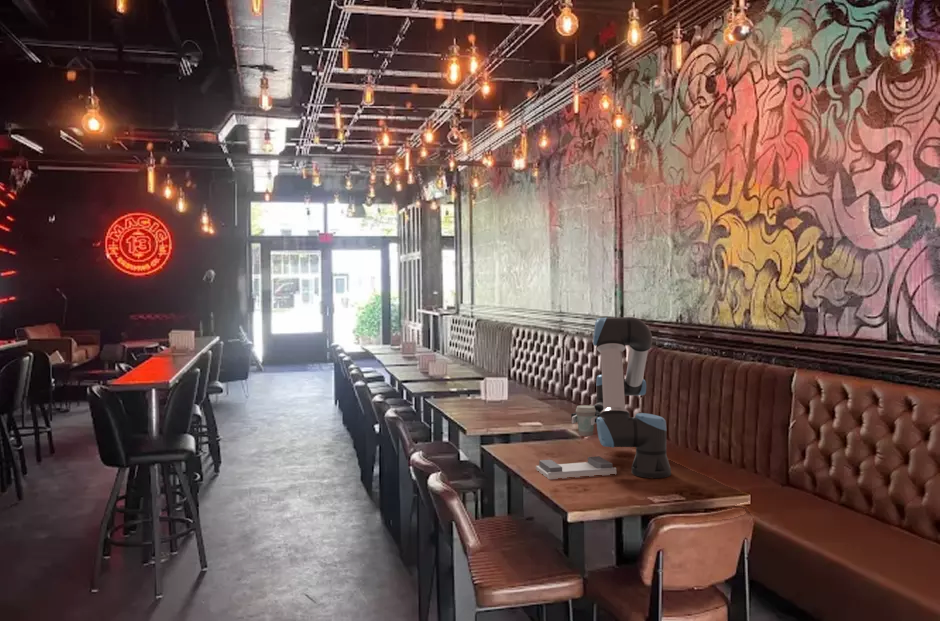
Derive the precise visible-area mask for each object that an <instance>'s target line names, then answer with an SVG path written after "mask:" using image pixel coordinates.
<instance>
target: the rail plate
mask: <svg viewBox="0 0 940 621" xmlns="http://www.w3.org/2000/svg"><path fill="white" fill-rule="evenodd" d="M535 470H536V471H537V472H538V471H539V472H538V473H539V474H541V475H542V474H543V475H542V476H544V477H545V478H546V477H547V478H546V479H548V480H559V479H558V478H562V479H568V478H567V477H575V478H581V477H580V476H589V477H595V476H594V475H602V476H611V475H610V474H615V475H617V467H613V463H612V462H610V461H609V460H607V459H605V458H603V457H601V456H599V455H598V456H597V455H596V456H587V462H571V463H557V462H555V460H552V459H541V460H540V459H539V462H538V465H535Z"/></svg>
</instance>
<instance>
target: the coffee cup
mask: <svg viewBox="0 0 940 621" xmlns="http://www.w3.org/2000/svg"><path fill="white" fill-rule="evenodd" d="M595 412H596V409H595V407H594V406H593V405H590V404H581V405H580V404H579V405H577V406H576V409H575V413H577V422H576V423H577V429H578V436H581V437H592V436H593V435H594V428H595V427H594V426H595V424H594V425H591V418H593V417H595Z"/></svg>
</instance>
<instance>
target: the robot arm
mask: <svg viewBox="0 0 940 621" xmlns="http://www.w3.org/2000/svg"><path fill="white" fill-rule="evenodd" d="M652 344H653V335H652V332H651V330H650V328H649V327H648V325H647V324H646V323H645V322H644V321H643V320H642V319H639V318H638V317H637V318H636V317H633V316H632V317H630V316H628V317H623V316H622V317H619V316H618V317H617V316H615V317H613V316H612V317H611V316H610V317H608V316H606V317H598V318H596V319H595V322H594V330H593V337H592V345H593V346H595V347H596V351H597V352H599V353H600V363H601V374H598V375H597V376H596V384H595V388H596V390H595V391H596V393H595V394H596V401H595V402H596V403H595V404H593V405H592V406H594V407H595V409H596V412H595V417H593V418H591V425H594V426H595V425H596V429H597V431H596V432H597V437H598V440H599V443H600V445H602V447H604V448H635V456H634V459H633V461H632V464H631V474H632V475H633V476H636V477H640V478H645V479H664V478H668V477H671V475H672V467H671V466H670V462H669V459H668V456H667V430H668V429H667V421H666V419H665V418H664V417H663V416H660V415H656V414H652V413H645V412H639V413H638V412H637V413H636V414H635V416H633V417H631V416H630V412H629V411H628V409H626V401H625V398H626V396H629V397H630V396H631V397H632V396H634V397H639V396H645V395H646V394H647V382H646V380H645V379H644V374H645V369H646V364H647V359H648V358H647V357H648V354H649V351H650V350H651V348H652ZM626 346H629V354H628V359H627V366H626V367H627V368H626V374H625V378H624V367H623V366H624V365H623V352H624V351H625V350H626ZM570 418H571V419H570V420H571V424H576V423H578V422H577V413H576V412H573V413H571V414H570Z"/></svg>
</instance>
